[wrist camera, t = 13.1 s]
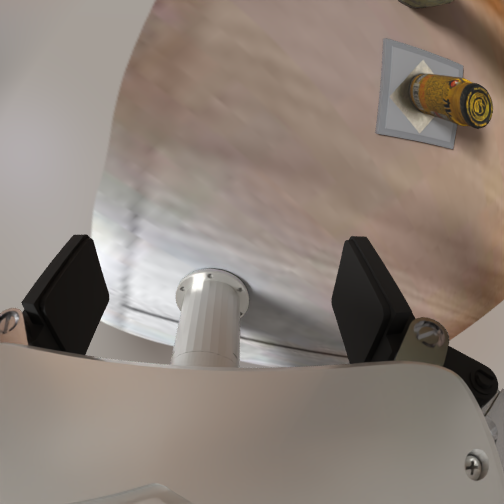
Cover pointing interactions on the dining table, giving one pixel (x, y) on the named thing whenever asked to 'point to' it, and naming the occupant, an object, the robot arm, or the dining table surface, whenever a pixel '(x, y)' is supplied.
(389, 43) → the plate
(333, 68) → the dining table surface
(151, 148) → the dining table surface
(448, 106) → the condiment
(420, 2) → the thermos
